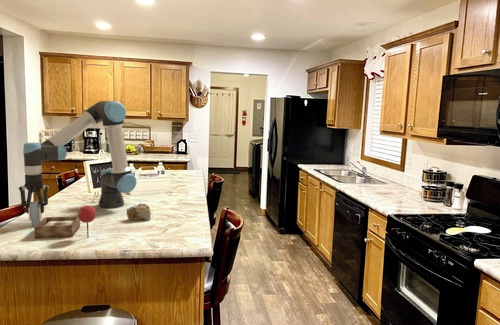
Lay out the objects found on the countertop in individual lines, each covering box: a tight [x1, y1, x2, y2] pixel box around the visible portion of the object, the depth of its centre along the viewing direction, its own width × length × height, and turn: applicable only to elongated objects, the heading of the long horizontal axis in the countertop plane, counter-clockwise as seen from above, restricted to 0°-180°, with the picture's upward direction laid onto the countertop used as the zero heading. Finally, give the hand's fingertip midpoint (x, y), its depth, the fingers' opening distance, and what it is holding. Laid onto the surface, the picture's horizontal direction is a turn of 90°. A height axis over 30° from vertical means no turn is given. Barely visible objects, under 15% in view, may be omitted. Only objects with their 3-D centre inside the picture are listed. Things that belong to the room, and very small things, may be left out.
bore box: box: [33, 215, 81, 239], centre depth 183 cm, size 16×16×6 cm
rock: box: [126, 202, 152, 221], centre depth 209 cm, size 12×7×10 cm, turn 91°
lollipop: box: [77, 205, 97, 239], centre depth 175 cm, size 8×8×15 cm
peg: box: [30, 200, 41, 227], centre depth 192 cm, size 4×4×12 cm
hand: (35, 219), depth 192 cm, fingers closed on peg, 4 cm apart
